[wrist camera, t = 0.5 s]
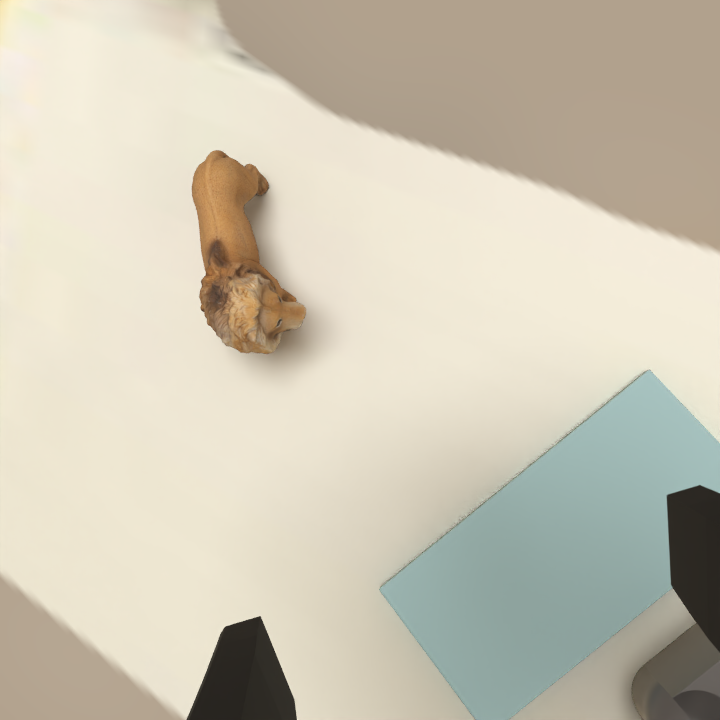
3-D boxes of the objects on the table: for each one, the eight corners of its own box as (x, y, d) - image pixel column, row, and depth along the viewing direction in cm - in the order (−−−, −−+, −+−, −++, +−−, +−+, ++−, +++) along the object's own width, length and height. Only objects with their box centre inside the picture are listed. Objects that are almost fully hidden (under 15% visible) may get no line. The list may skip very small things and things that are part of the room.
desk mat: (769, 502, 32) (777, 503, 31) (487, 729, 32) (487, 736, 32) (645, 371, 34) (649, 369, 33) (380, 586, 34) (378, 589, 34)
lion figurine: (339, 353, 37) (301, 319, 28) (259, 387, 38) (199, 364, 29) (257, 151, 40) (201, 64, 31) (185, 185, 41) (109, 108, 32)
